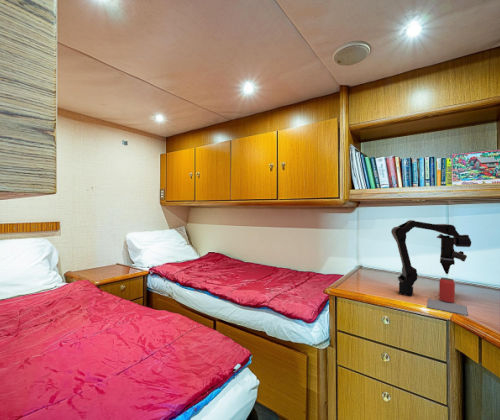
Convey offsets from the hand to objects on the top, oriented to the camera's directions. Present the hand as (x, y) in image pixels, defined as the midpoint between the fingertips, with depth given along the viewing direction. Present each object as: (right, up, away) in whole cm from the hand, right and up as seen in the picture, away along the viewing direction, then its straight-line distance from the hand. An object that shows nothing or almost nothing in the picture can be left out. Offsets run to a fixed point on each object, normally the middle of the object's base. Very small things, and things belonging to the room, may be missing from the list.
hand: (446, 273), depth 143 cm
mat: (-12, -13, -15) cm, 23 cm away
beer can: (-6, -13, -8) cm, 16 cm away
